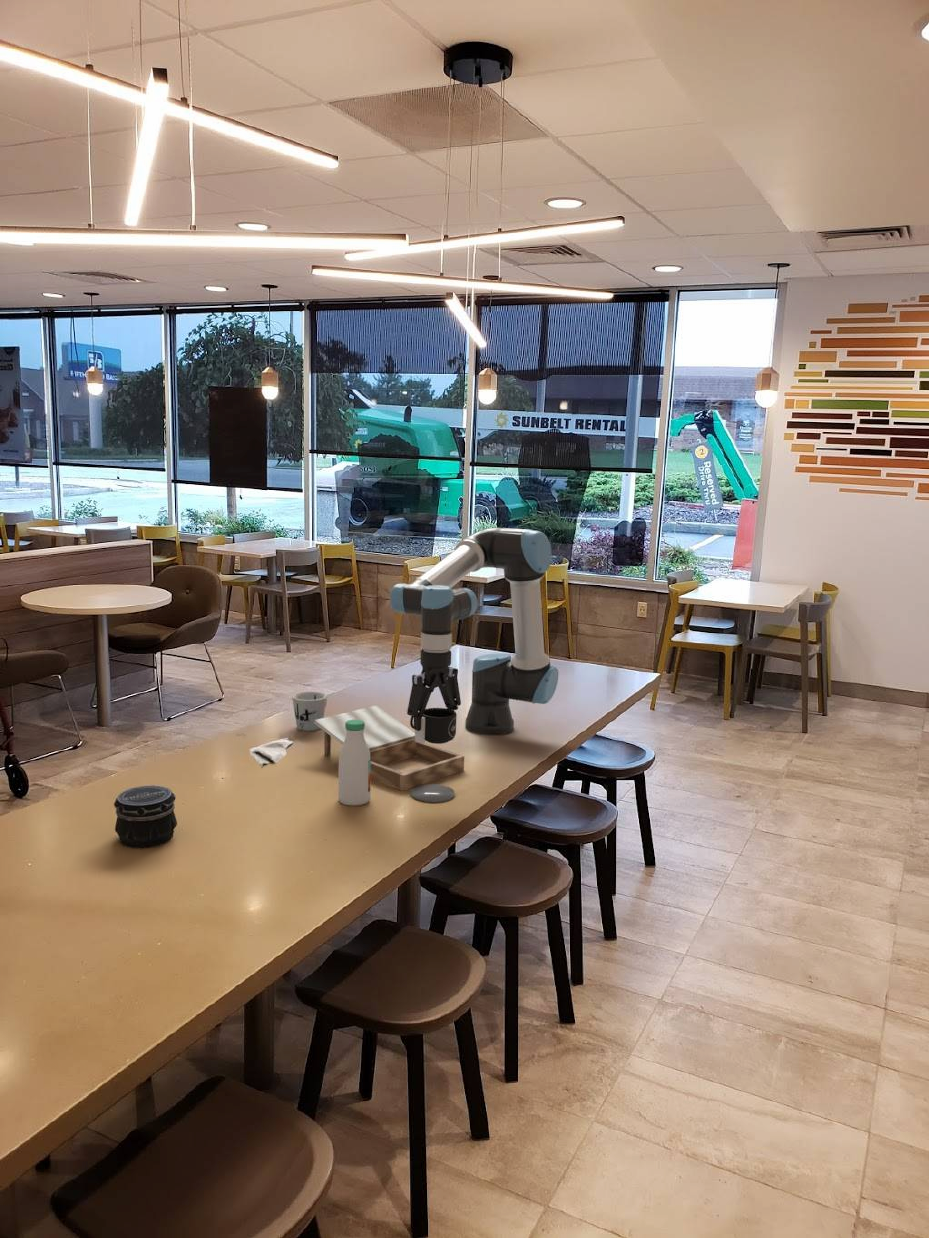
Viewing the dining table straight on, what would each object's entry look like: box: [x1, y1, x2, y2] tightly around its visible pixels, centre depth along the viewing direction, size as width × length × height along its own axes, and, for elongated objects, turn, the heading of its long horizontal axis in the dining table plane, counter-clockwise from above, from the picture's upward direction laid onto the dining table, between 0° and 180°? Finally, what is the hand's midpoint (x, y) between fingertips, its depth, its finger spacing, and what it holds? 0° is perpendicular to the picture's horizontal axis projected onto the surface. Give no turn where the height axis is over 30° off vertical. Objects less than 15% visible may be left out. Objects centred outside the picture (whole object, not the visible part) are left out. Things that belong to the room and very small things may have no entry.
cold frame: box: [314, 705, 465, 792], centre depth 254 cm, size 22×36×10 cm, turn 47°
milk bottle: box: [337, 720, 371, 807], centre depth 225 cm, size 8×8×20 cm
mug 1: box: [291, 691, 328, 732], centre depth 286 cm, size 10×15×10 cm
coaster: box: [410, 783, 456, 803], centre depth 233 cm, size 11×11×1 cm
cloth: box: [248, 737, 294, 769], centre depth 261 cm, size 26×14×2 cm, turn 164°
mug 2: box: [409, 707, 458, 745], centre depth 229 cm, size 12×9×7 cm
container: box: [113, 784, 178, 849], centre depth 202 cm, size 13×13×10 cm
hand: (433, 738), depth 230 cm, fingers closed on mug 2, 9 cm apart
